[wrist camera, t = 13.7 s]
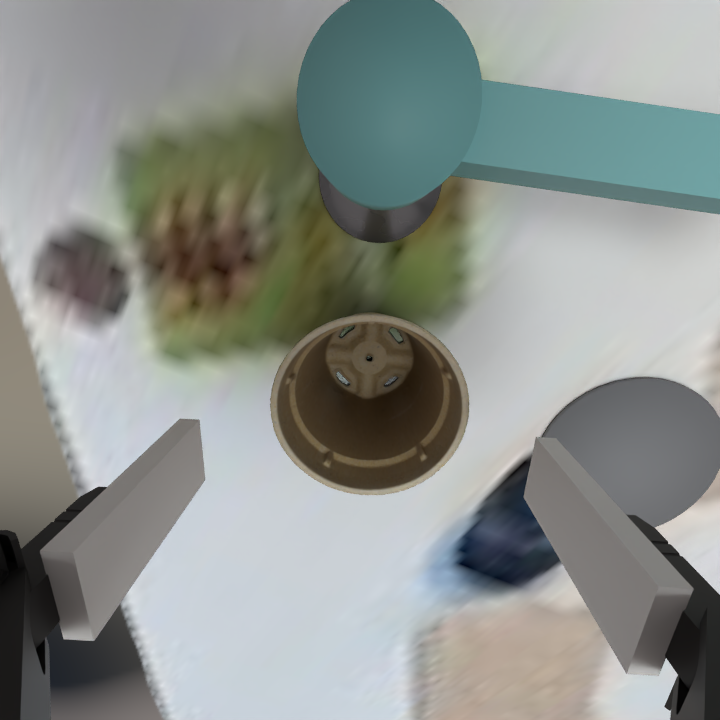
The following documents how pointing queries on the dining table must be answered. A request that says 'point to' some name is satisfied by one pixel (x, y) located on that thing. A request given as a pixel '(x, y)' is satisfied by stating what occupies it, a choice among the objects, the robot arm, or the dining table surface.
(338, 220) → the grey pedestal stand
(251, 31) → the dining table surface
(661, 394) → the pad
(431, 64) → the teal paddle stick
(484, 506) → the dining table surface
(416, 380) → the flower pot
